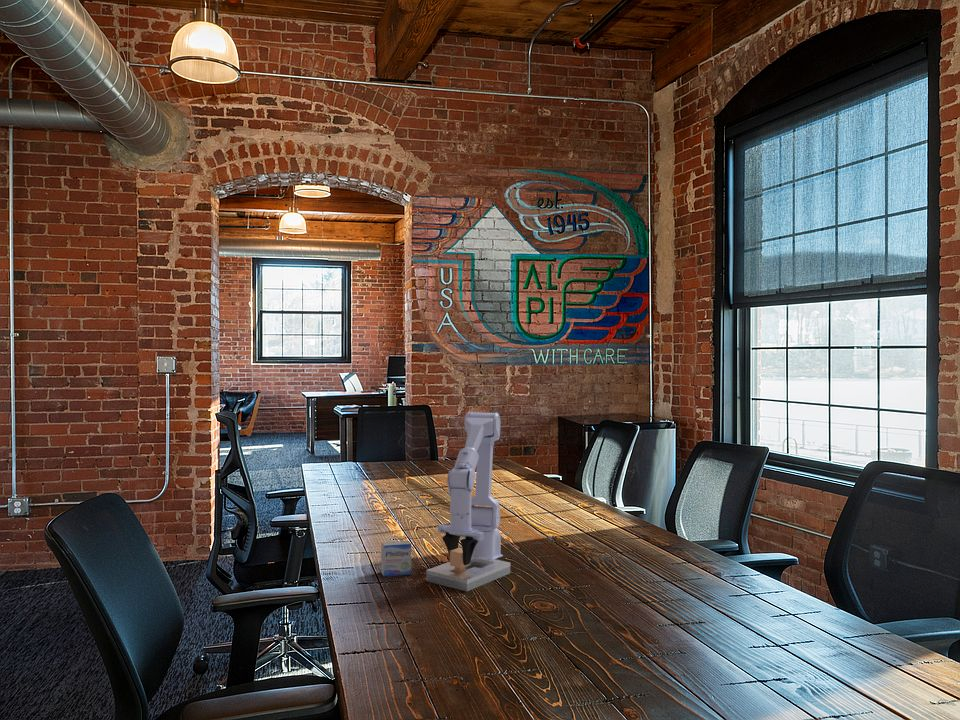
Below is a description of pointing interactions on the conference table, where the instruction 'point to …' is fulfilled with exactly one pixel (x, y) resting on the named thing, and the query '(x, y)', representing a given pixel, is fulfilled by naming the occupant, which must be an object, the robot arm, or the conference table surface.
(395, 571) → the medicine box
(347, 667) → the conference table surface
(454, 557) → the headed stud
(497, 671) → the conference table surface
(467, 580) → the keyhole plate
